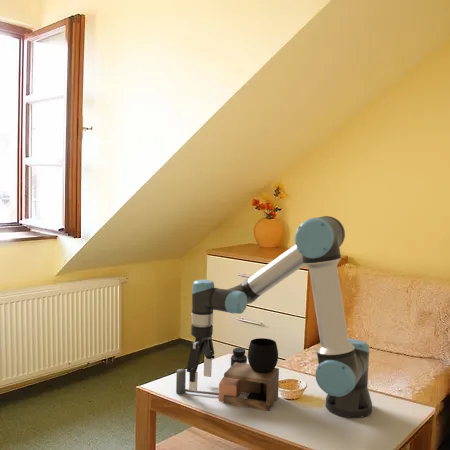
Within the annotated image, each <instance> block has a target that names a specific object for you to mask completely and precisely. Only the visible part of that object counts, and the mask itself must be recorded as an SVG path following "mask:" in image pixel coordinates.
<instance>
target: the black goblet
mask: <svg viewBox="0 0 450 450" xmlns="http://www.w3.org/2000/svg"><path fill="white" fill-rule="evenodd" d="M278 360H279V350H278V344H277V341H276V340H274V339H272V338H271V339H270V338H264V337H262V338H259V337H258V338H254V339H251V340H250V343H249V346H248V349H247V363H248V364H250V366H251V368H252V369H253V370H254V371H255V372H258V373H269V372H271V371H272V370H273V369H274V368H277V364H278ZM246 399H252V400H259V401H265V402H266V394H264V383H261V390H260V393H250V394H247V396H246ZM277 399H278V398H277ZM277 399H276V400H275V403H276V402H277Z"/></svg>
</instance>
